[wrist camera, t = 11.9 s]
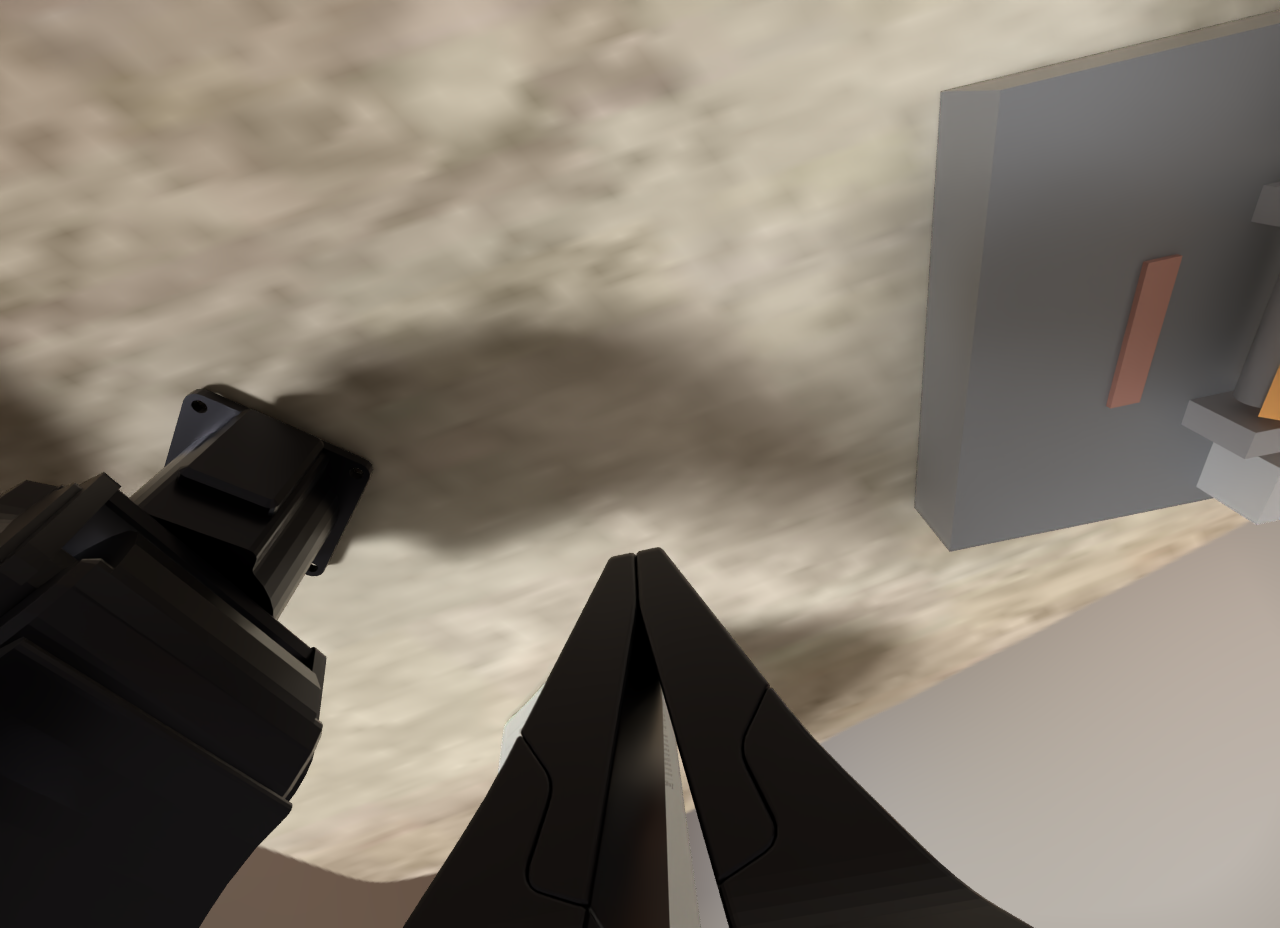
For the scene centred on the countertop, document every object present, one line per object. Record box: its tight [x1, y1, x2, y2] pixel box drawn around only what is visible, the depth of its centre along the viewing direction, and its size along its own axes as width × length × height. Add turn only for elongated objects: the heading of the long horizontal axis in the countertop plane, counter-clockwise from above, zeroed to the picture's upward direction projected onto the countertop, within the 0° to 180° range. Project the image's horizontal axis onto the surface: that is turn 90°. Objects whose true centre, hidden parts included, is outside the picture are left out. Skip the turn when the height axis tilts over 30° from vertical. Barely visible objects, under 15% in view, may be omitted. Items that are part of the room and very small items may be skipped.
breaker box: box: [914, 10, 1280, 551], centre depth 19 cm, size 14×16×5 cm
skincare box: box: [498, 682, 701, 928], centre depth 25 cm, size 8×6×15 cm
